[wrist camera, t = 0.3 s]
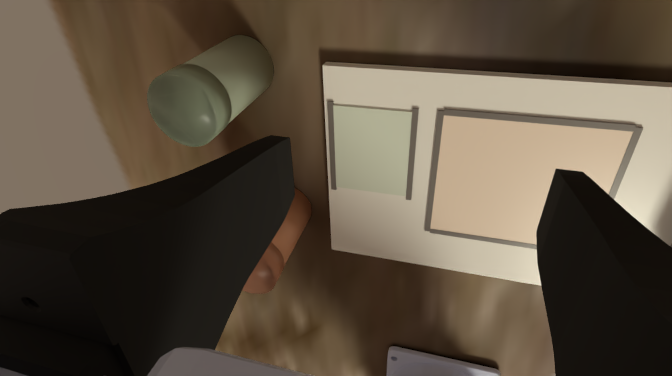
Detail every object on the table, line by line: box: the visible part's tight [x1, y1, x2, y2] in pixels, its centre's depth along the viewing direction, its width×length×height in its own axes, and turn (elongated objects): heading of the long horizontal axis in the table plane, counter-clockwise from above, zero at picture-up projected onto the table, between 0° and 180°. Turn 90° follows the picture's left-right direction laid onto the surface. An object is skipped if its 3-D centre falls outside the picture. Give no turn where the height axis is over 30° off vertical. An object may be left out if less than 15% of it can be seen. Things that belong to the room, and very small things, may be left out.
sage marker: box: [147, 35, 274, 147], centre depth 20 cm, size 3×3×6 cm
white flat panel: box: [322, 62, 672, 285], centre depth 21 cm, size 12×24×1 cm, turn 92°
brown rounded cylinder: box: [242, 188, 312, 294], centre depth 25 cm, size 3×3×6 cm
